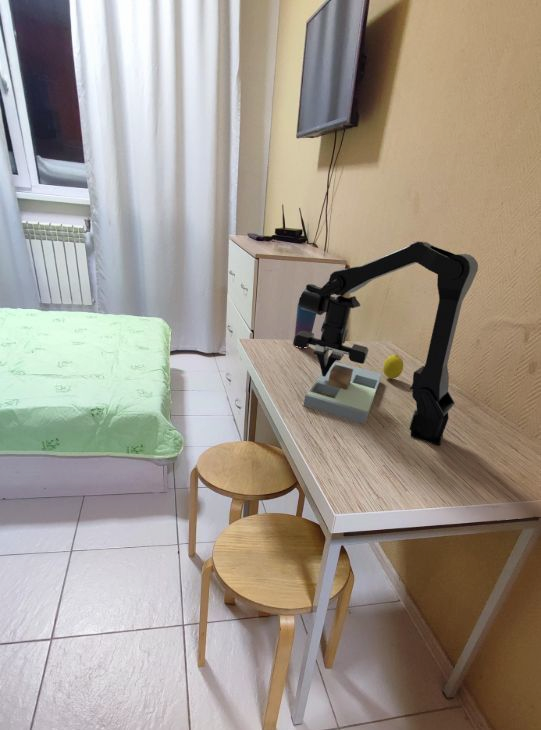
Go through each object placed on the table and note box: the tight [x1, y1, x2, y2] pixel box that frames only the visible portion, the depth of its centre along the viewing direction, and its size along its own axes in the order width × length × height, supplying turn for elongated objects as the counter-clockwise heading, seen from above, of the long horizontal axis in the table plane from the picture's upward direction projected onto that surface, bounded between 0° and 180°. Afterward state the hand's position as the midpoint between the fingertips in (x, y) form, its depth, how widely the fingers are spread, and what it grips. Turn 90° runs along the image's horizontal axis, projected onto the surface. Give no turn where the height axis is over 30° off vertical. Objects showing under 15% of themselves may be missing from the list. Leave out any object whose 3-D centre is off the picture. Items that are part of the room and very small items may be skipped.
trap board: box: [303, 361, 382, 425], centre depth 101 cm, size 15×27×3 cm, turn 157°
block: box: [328, 364, 353, 390], centre depth 99 cm, size 5×5×4 cm
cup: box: [294, 301, 317, 347], centre depth 127 cm, size 7×7×15 cm
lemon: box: [382, 354, 404, 380], centre depth 112 cm, size 6×6×8 cm
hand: (324, 375), depth 101 cm, fingers closed
